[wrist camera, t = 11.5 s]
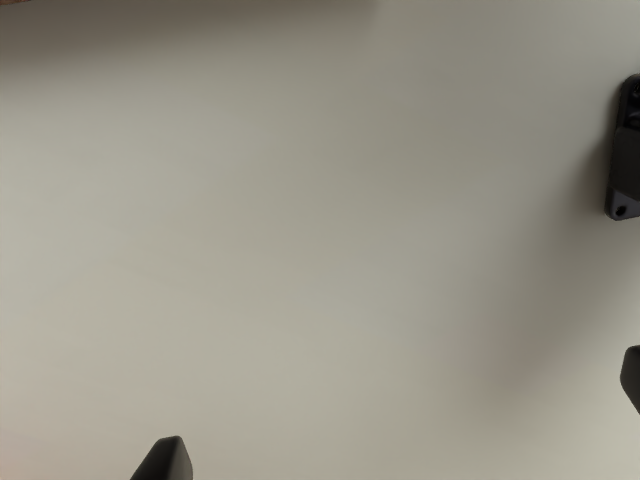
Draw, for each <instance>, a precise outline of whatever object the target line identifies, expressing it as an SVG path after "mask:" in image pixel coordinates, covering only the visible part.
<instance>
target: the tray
mask: <svg viewBox="0 0 640 480" xmlns="http://www.w3.org/2000/svg"><path fill="white" fill-rule="evenodd" d="M24 1H30V0H0V6H1V5H6V4H12V3H18V2H24Z"/></svg>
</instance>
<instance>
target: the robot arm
mask: <svg viewBox="0 0 640 480" xmlns="http://www.w3.org/2000/svg"><path fill="white" fill-rule="evenodd" d="M638 83H639V87H638V89H637V90H636V91H635V92H634V88H635V86H636V85H637V84H638ZM618 207H620V208H619V210H618V211H616V209H617V208H618ZM605 214H606V216H608V217H609V218H611V219H613V220H615V221H620V220H624V219H629V218H634V217H639V216H640V73H639V74H634V75H632V76H630V77H629V78H627V79H626V80H625V82H624V83H623V86H622V89H621V96H620V103H619V110H618V117H617V124H616V131H615V139H614V146H613V153H612V160H611V167H610V174H609V182H608V189H607V196H606V203H605ZM620 382H621V385H622V387H623V389H624V391H625V393H626V394H627V396H628V397H629V399H630V400H631V402H632V404H633V405H634V407H635V408H636V410H637V411H638V413H639V414H640V345H637V346H631V347H629V348H628V349H627V350H626V352H625V356H624V361H623V365H622V370H621V374H620ZM130 480H193V469H192V464H191V461H190V458H189V455H188V453H187V450H186V448H185V445H184V442H183V440H182V438H181V437H180V436H172V437H167V438H162V439H159V440H158V441H157V442H156V443H155V444H154V446H153V447H152V448H151V450H150V451H149V453H148V454H147V456H146V457H145V459H144V460H143V461H142V463H141V464H140V466H139V467H138V469H137V470H136V471H135V473H134V474H133V476H132V477H131V479H130Z"/></svg>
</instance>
